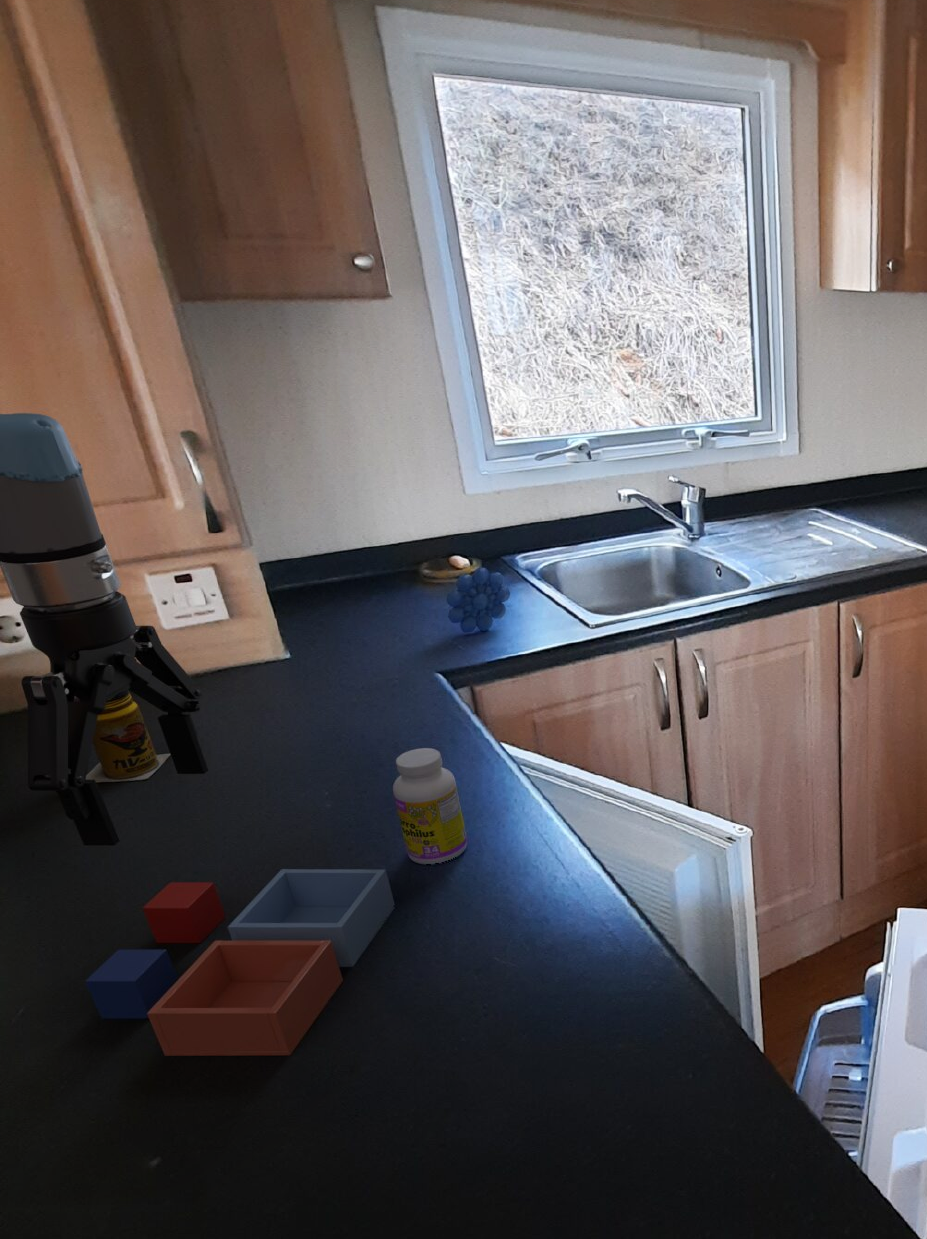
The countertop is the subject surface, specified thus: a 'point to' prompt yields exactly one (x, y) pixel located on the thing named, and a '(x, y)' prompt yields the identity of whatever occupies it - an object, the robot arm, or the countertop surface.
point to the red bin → (247, 999)
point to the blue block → (131, 983)
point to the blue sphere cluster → (478, 600)
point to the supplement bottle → (428, 807)
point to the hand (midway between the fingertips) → (150, 805)
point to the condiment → (123, 743)
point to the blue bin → (319, 909)
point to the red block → (184, 912)
